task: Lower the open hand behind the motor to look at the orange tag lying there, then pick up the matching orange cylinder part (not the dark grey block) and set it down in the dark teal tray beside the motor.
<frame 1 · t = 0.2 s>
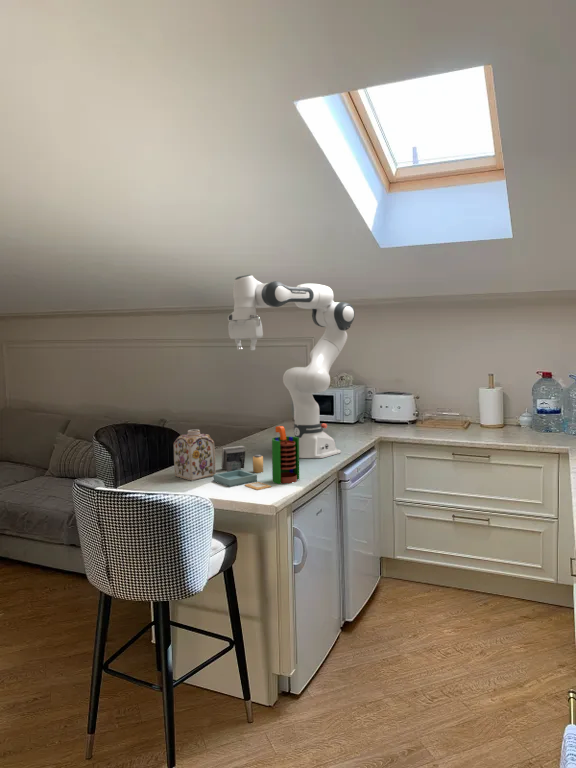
hand: (246, 350, 241), 48 cm above the worktop, tool pointing down, fingers open, 8 cm apart
electrical switch: (234, 469, 241), on the worktop
motor: (285, 481, 219), on the worktop
tray: (235, 481, 220), on the worktop
decorative jar: (195, 476, 230), on the worktop
grey block: (233, 475, 230), on the worktop
orange part: (258, 471, 235), on the worktop
tag: (258, 486, 212), on the worktop
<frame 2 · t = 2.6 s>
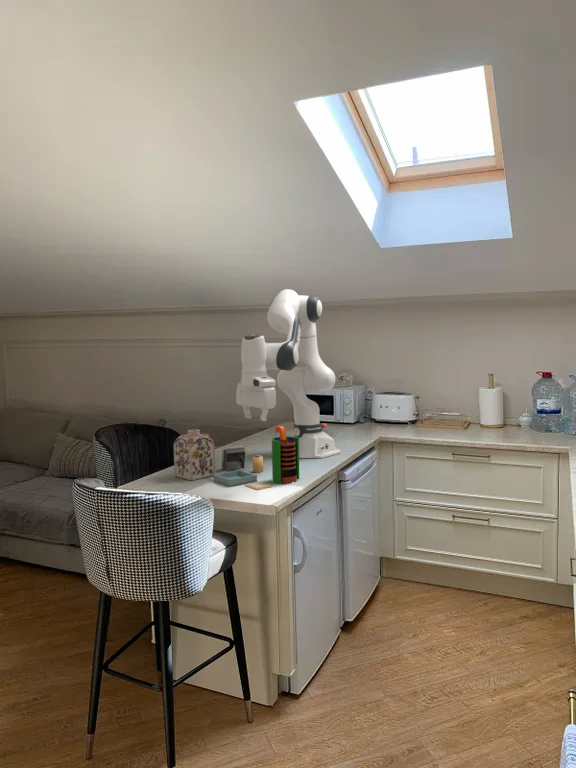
hand: (255, 419, 210), 24 cm above the worktop, tool pointing down, fingers open, 8 cm apart
nothing on the worktop moved.
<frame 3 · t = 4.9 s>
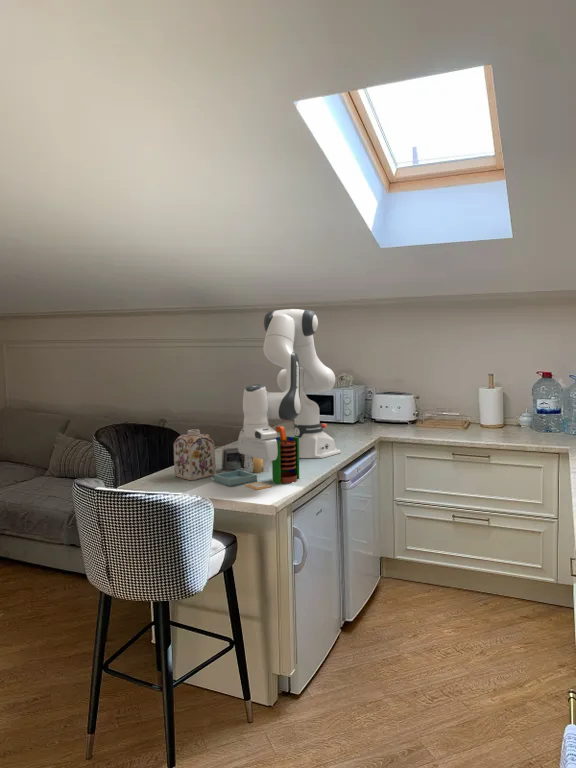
hand: (257, 469, 211), 6 cm above the worktop, tool pointing down, fingers open, 8 cm apart
nothing on the worktop moved.
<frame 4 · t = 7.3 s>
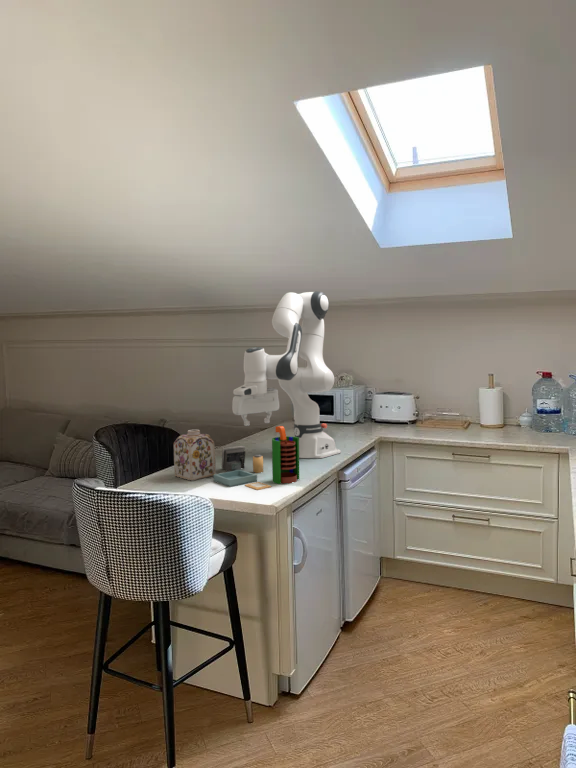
hand: (257, 424, 233), 19 cm above the worktop, tool pointing down, fingers open, 8 cm apart
nothing on the worktop moved.
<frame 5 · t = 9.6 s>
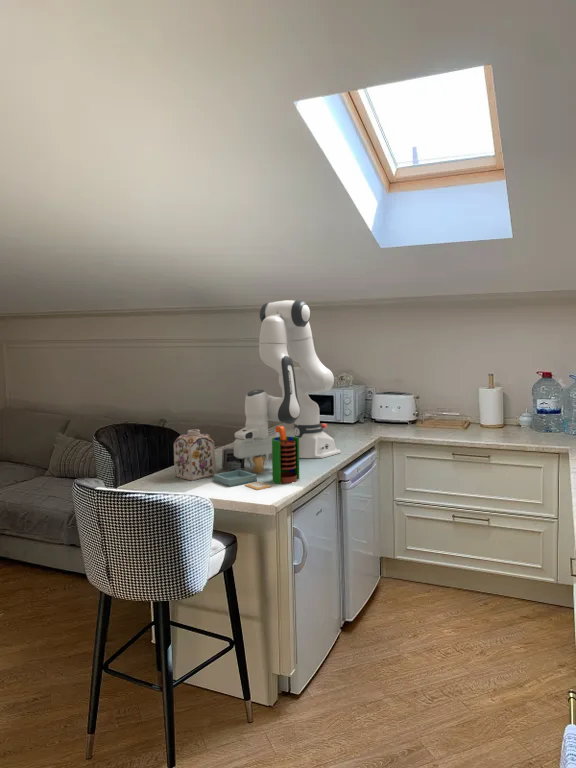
hand: (258, 466, 235), 2 cm above the worktop, tool pointing down, fingers closed on orange part, 4 cm apart
orange part: (258, 471, 235), on the worktop, touching gripper
everything else where it was.
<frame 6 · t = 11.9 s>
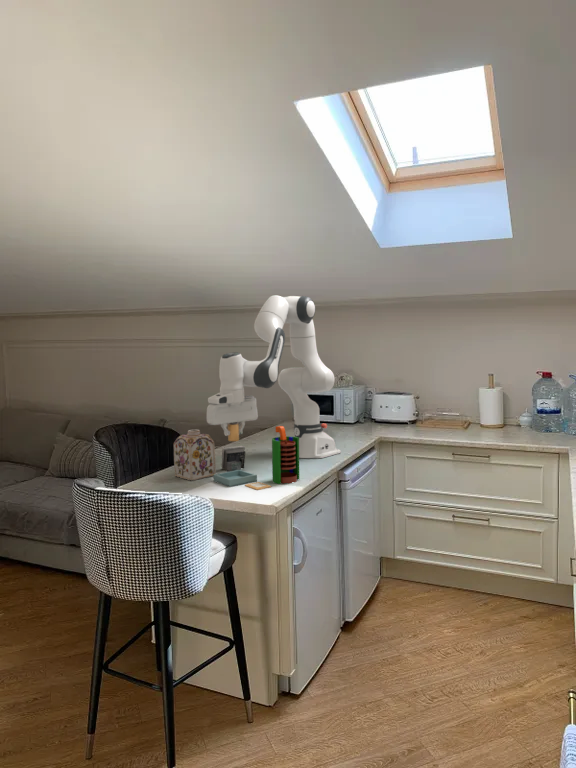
hand: (233, 434, 219), 17 cm above the worktop, tool pointing down, fingers closed on orange part, 4 cm apart
orange part: (233, 440, 219), point 15 cm above the worktop, touching gripper
everything else where it was.
when the fingers open (5 cm above the worktop, at t = 14.6 s): orange part drops 2 cm, resting on tray.
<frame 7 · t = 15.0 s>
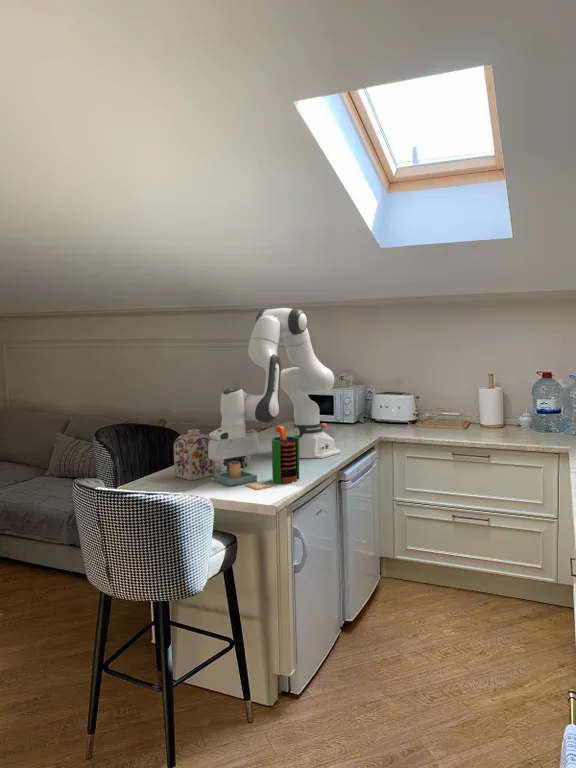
hand: (234, 469, 220), 5 cm above the worktop, tool pointing down, fingers open, 8 cm apart
orange part: (235, 479, 220), point 1 cm above the worktop, touching tray
everything else where it was.
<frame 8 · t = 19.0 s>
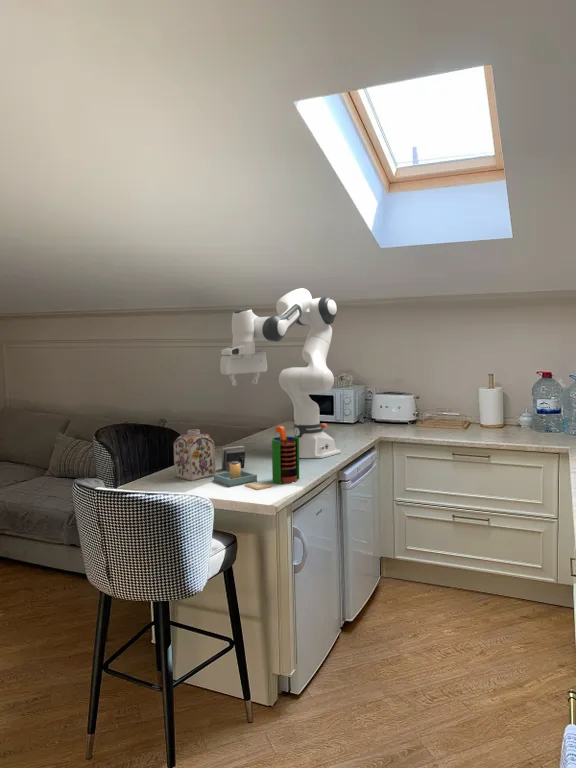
hand: (244, 384, 236), 34 cm above the worktop, tool pointing down, fingers open, 8 cm apart
nothing on the worktop moved.
at the end: orange part inside the target area on the tray (0.1 cm from its centre), point 0.6 cm above the tray's base; the gripper is holding nothing; grey block moved 0.1 cm from its start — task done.
